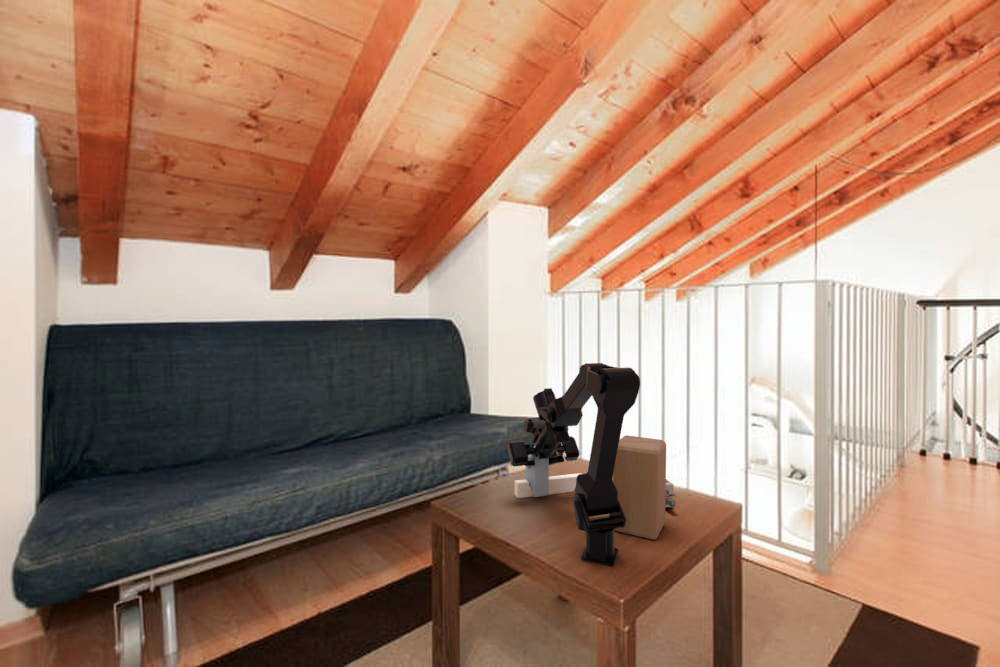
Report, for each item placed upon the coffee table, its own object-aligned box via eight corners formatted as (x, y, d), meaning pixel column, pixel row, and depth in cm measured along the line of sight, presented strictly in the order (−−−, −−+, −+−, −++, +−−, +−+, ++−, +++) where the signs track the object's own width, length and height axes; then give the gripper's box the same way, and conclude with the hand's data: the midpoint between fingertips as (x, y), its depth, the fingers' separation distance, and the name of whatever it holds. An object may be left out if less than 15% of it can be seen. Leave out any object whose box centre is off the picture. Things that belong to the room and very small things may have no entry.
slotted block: (548, 495, 123) (548, 456, 123) (534, 497, 122) (534, 457, 121) (538, 486, 129) (539, 449, 129) (525, 488, 128) (525, 450, 128)
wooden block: (623, 515, 113) (623, 433, 112) (665, 524, 108) (667, 439, 107) (611, 531, 104) (612, 443, 103) (657, 542, 99) (658, 450, 98)
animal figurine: (646, 503, 123) (645, 483, 124) (662, 502, 124) (661, 482, 124) (665, 513, 111) (663, 492, 112) (683, 513, 112) (681, 491, 112)
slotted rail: (584, 490, 129) (585, 475, 129) (517, 498, 123) (517, 483, 123) (580, 486, 131) (581, 473, 131) (514, 495, 125) (514, 480, 125)
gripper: (574, 407, 124) (557, 437, 135) (509, 411, 118) (496, 443, 129) (588, 443, 117) (569, 473, 127) (519, 450, 111) (505, 480, 122)
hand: (535, 466), depth 127 cm, fingers closed on slotted block, 4 cm apart
